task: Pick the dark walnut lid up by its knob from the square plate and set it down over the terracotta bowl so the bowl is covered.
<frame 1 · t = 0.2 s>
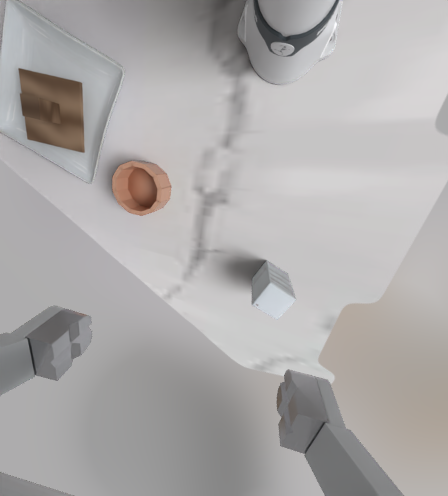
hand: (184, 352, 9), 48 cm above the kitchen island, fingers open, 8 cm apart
square plate: (66, 105, 52), on the kitchen island, touching walnut lid
walnut lid: (54, 113, 49), point 3 cm above the kitchen island, touching square plate
supplement box: (269, 275, 60), on the kitchen island
terracotta bowl: (148, 187, 55), on the kitchen island
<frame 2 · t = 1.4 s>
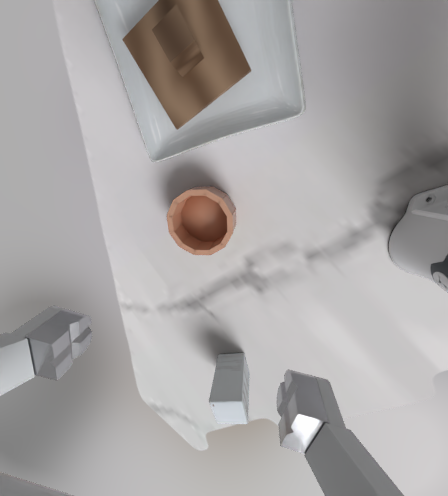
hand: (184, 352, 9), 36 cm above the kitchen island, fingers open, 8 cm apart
square plate: (204, 55, 35), on the kitchen island, touching walnut lid
walnut lid: (187, 56, 32), point 3 cm above the kitchen island, touching square plate
supplement box: (234, 362, 57), on the kitchen island
terracotta bowl: (206, 216, 44), on the kitchen island
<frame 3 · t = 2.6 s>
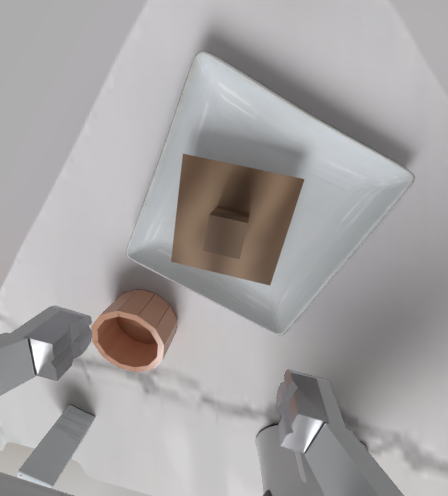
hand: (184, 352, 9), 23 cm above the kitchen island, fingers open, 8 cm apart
square plate: (249, 216, 31), on the kitchen island, touching walnut lid
walnut lid: (230, 223, 27), point 3 cm above the kitchen island, touching square plate
supplement box: (80, 416, 54), on the kitchen island
terracotta bowl: (145, 318, 39), on the kitchen island
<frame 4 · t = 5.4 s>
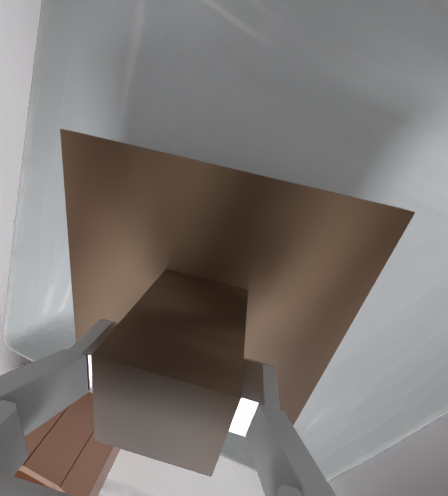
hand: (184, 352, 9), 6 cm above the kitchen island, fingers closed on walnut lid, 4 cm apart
square plate: (250, 273, 15), on the kitchen island, touching walnut lid
walnut lid: (203, 303, 12), point 3 cm above the kitchen island, touching gripper, square plate
terracotta bowl: (72, 418, 24), on the kitchen island
when the fingers open (10 cm above the kitchen island, at t = 12.3 s): walnut lid stays where it is, resting on terracotta bowl.
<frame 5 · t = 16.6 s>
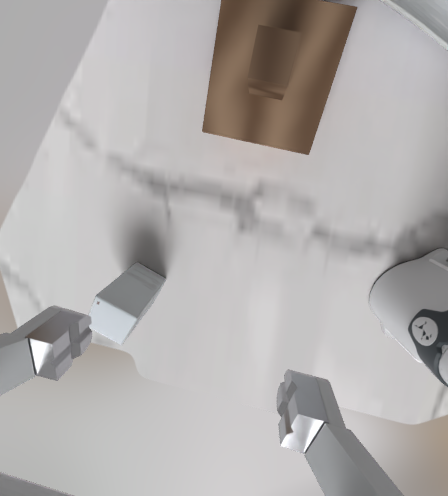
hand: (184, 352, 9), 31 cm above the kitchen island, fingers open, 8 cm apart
walnut lid: (269, 79, 25), point 6 cm above the kitchen island, touching terracotta bowl
supplement box: (146, 282, 46), on the kitchen island
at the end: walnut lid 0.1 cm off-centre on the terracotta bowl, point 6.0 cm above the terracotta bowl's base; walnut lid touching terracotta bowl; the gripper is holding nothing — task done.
